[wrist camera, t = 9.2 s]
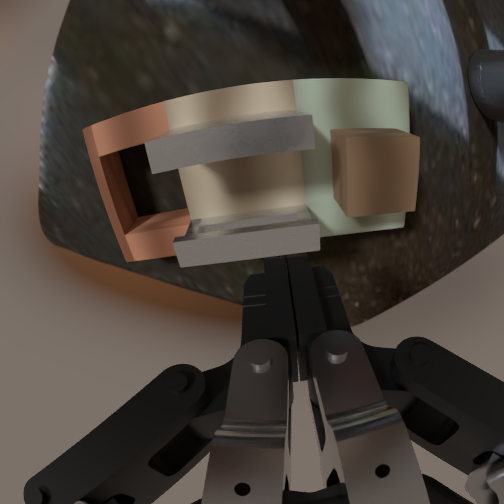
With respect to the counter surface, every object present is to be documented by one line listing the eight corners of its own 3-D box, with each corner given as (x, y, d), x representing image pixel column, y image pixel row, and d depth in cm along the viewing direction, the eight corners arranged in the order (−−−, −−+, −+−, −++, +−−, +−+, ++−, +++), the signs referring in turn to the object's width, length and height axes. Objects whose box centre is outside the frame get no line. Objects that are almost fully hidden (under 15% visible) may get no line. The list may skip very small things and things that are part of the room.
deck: (387, 81, 21) (407, 82, 17) (387, 210, 28) (403, 227, 25) (102, 122, 23) (82, 129, 19) (138, 242, 30) (126, 262, 27)
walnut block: (395, 128, 20) (419, 137, 16) (394, 192, 23) (415, 211, 19) (330, 129, 20) (345, 137, 17) (333, 197, 23) (347, 217, 20)
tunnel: (296, 109, 19) (312, 114, 14) (306, 215, 24) (320, 250, 19) (169, 129, 20) (144, 142, 15) (193, 229, 25) (180, 267, 20)
